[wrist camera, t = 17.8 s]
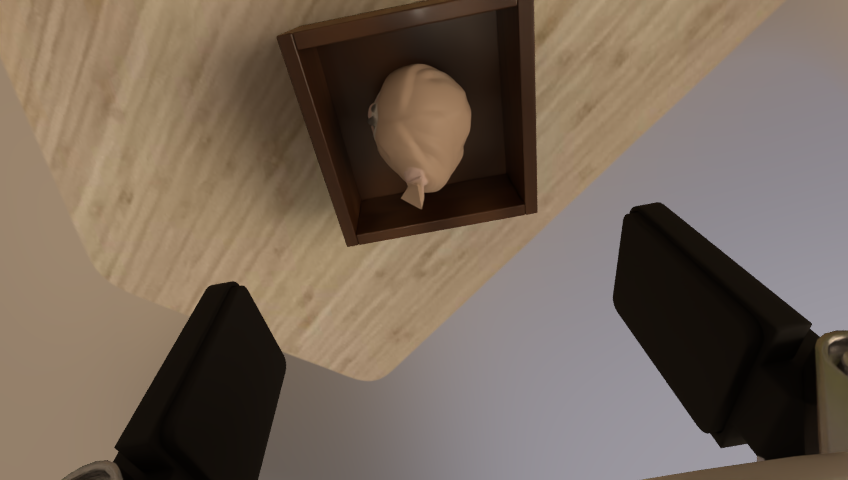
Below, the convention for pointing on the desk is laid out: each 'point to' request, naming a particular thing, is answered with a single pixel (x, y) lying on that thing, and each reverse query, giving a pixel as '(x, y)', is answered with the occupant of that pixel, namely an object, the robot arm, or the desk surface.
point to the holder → (448, 52)
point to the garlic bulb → (420, 127)
